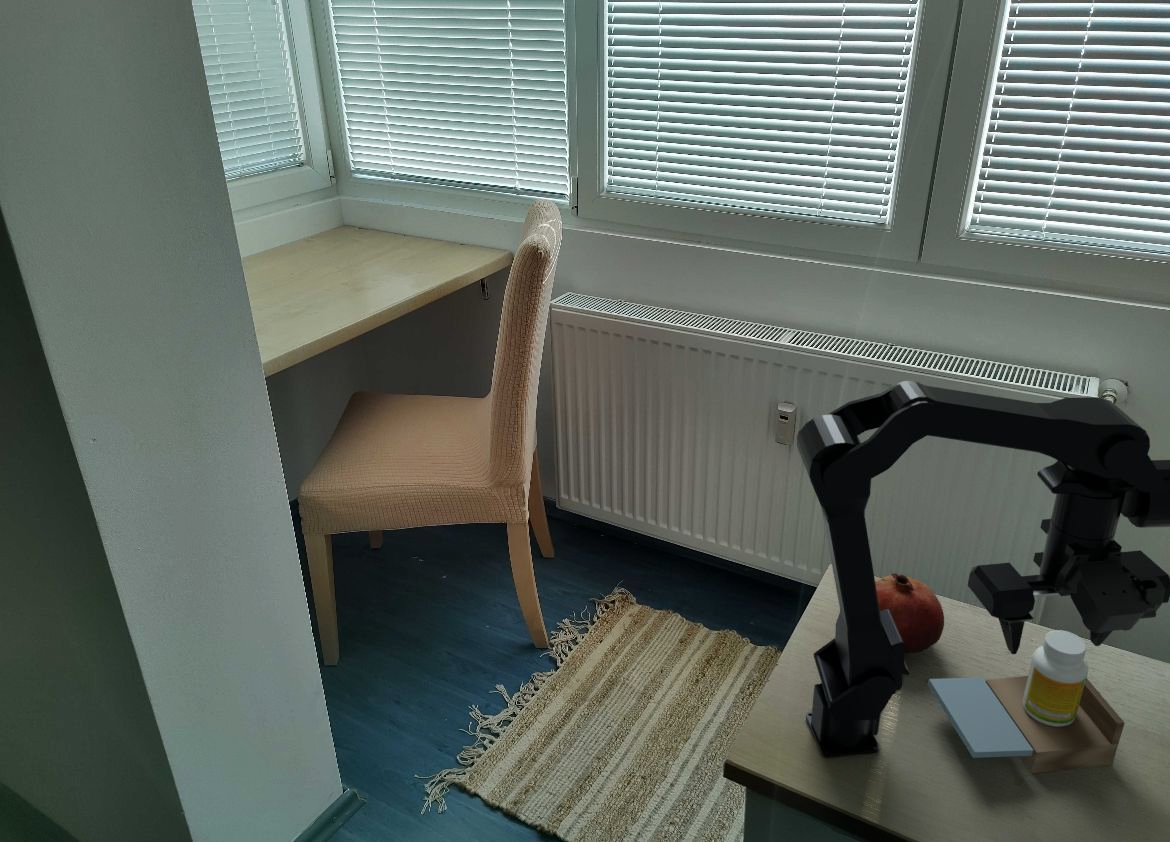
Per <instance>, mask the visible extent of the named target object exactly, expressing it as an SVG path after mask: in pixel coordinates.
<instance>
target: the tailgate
mask: <svg viewBox="0 0 1170 842" xmlns="http://www.w3.org/2000/svg"><path fill="white" fill-rule="evenodd" d="M985 681H986V679H984V678H983V677H957V678H956V677H953V678H928V681H927V682H928V683H927V686H928V688H929V689H930V691H931V692H932V693H933V695H934V697H935V698H936V701H937V702H938V704H939V705H940V706H941V708H942V710H943V712H944V713H945V715H946V717H947V718H948V720H949V722H950V723H951V724H952V726H953V728H954V729H955V731H956V733H957V734H958V736H959V738H960V740H961V741H962V742H963V744H964V746H965V747H966V749H967V750H968V752H969V754H970V756H971V757H972V758H973V759H974V758H975V759H977V758H978V759H979V758H980V759H981V758H1003V757H1004V758H1005V757H1008V758H1009V757H1020V756H1031V755H1032V752H1033V749H1032V747H1031V746H1030V745H1029V743H1028V742H1027V740H1026V739H1025V737H1024V736H1023V735H1022V733H1021V732H1020V730H1019V729H1018V727H1017V726H1016V725H1015V723H1014V722H1013V720H1012V719H1011V718H1010V716H1009V715H1008V713H1007V712H1006V710H1005V709H1004V708H1003V706H1002V705H1001V703H1000V702H999V700H998V699H997V698H996V696H995V695H994V693H993V692H992V690H991V689H990V688H989V686H988V685H987V683H986V682H985Z"/></svg>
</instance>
